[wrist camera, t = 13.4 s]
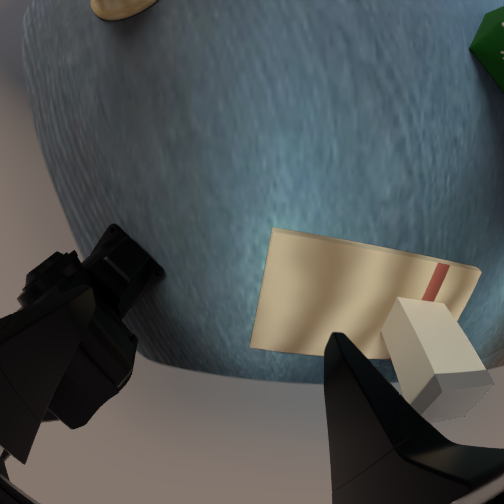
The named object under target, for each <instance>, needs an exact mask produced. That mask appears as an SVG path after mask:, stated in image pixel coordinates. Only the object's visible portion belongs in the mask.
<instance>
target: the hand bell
mask: <svg viewBox="0 0 504 504" xmlns="http://www.w3.org/2000/svg"><path fill="white" fill-rule="evenodd" d="M156 1H157V0H91V6H92V9H93V12H94V13H95V14H96V15H97V16H98V17H100V18H102V19H105V20H119V19H124V18H127V17H130V16H132V15H135V14H137V13H139V12H141V11H143V10H144V9H146V8H148V7H149V6H151V5H152V4H154V3H155V2H156Z"/></svg>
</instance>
